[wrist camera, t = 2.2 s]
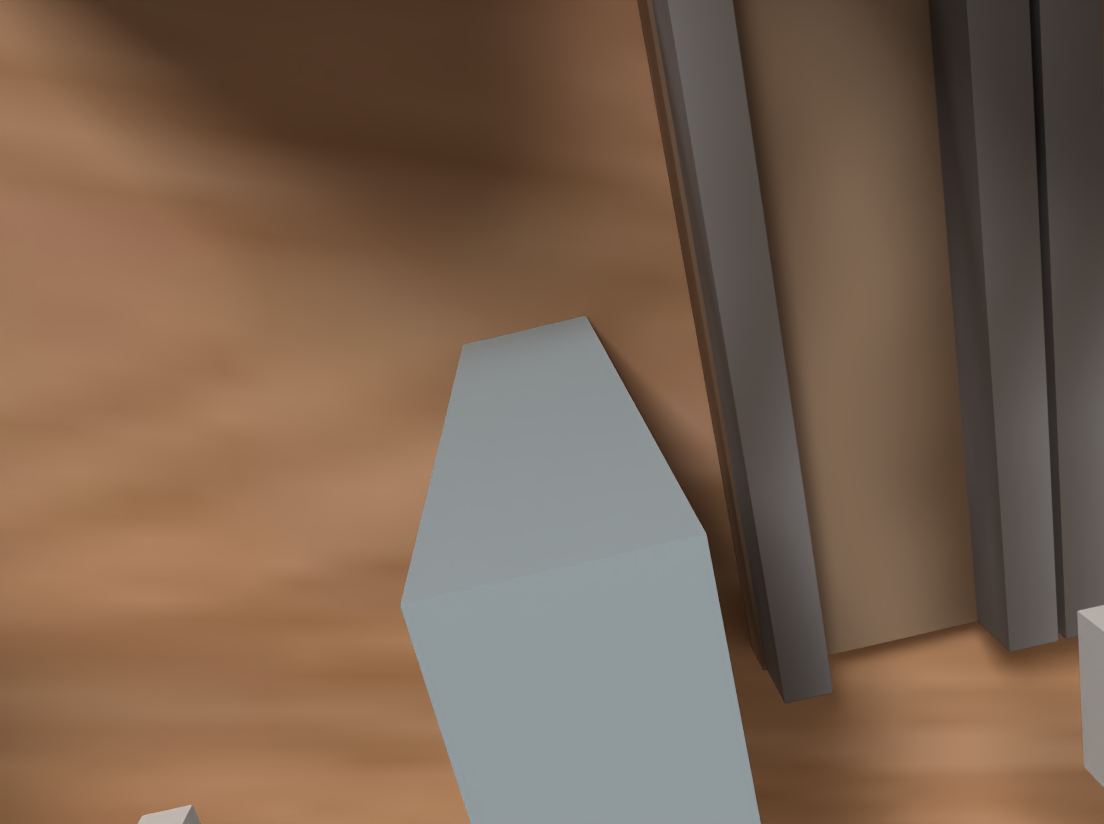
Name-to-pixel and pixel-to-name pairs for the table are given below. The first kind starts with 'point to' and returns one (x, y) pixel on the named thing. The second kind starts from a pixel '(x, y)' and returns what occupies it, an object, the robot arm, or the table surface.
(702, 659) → the pale grey rectangular block
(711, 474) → the table surface
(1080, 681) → the robot arm
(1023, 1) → the track sill
